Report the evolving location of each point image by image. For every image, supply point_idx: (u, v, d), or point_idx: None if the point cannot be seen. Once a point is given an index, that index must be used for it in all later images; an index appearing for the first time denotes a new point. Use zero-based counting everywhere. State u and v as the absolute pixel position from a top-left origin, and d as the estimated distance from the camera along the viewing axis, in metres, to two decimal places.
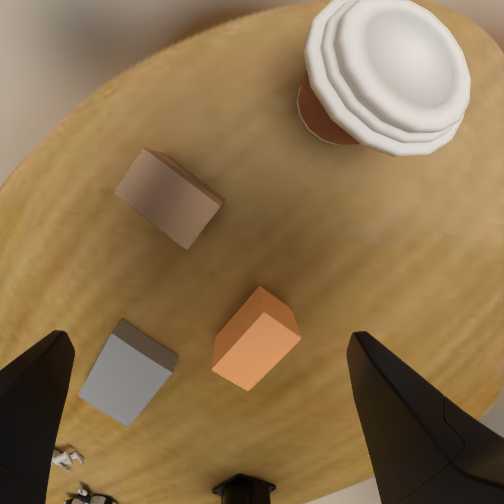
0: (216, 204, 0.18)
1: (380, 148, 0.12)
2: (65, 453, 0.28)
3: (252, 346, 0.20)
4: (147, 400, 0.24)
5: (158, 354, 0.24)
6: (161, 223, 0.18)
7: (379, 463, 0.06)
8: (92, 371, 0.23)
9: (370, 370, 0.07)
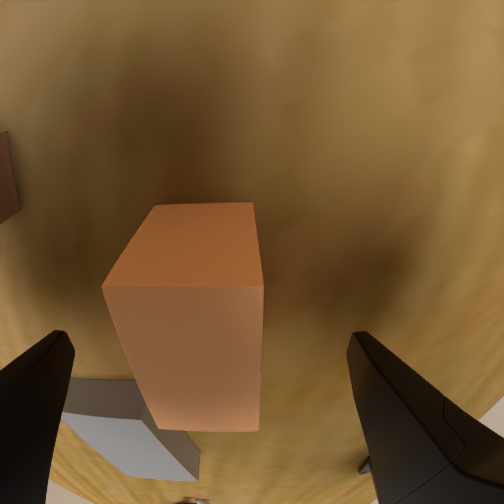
0: None
1: None
2: None
3: (169, 369, 0.07)
4: (170, 455, 0.15)
5: (117, 400, 0.13)
6: None
7: (379, 463, 0.06)
8: (99, 452, 0.15)
9: (370, 370, 0.07)
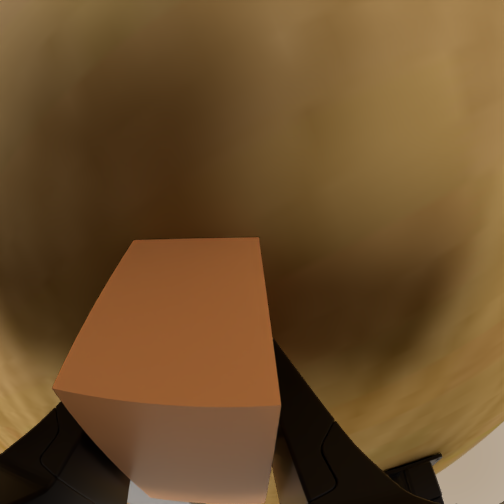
0: None
1: None
2: None
3: (156, 465, 0.05)
4: None
5: None
6: None
7: (277, 480, 0.06)
8: None
9: None
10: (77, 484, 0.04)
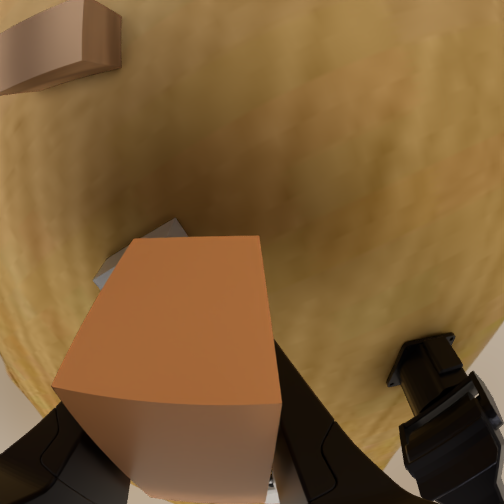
0: None
1: None
2: None
3: (156, 464, 0.05)
4: None
5: None
6: (41, 66, 0.09)
7: (277, 480, 0.06)
8: None
9: None
10: (77, 484, 0.04)
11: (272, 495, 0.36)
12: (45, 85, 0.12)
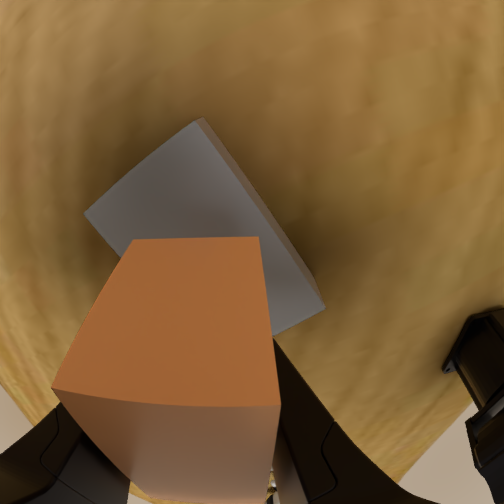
0: None
1: None
2: None
3: (156, 465, 0.05)
4: (261, 222, 0.12)
5: None
6: None
7: (277, 480, 0.06)
8: None
9: None
10: (77, 484, 0.04)
11: None
12: None
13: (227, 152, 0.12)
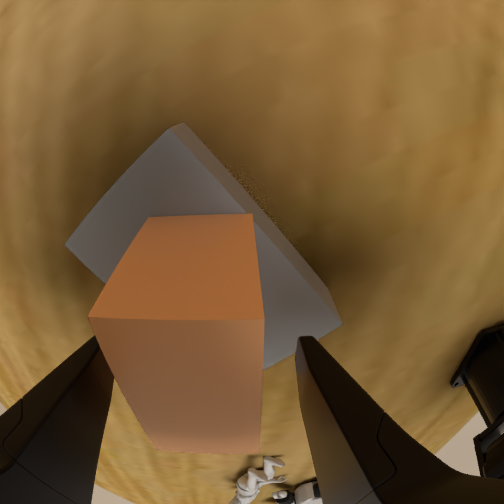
0: None
1: None
2: (250, 473, 0.22)
3: (165, 398, 0.06)
4: (261, 237, 0.10)
5: None
6: None
7: (321, 475, 0.06)
8: None
9: (309, 378, 0.07)
10: (36, 469, 0.04)
11: None
12: None
13: (215, 159, 0.11)
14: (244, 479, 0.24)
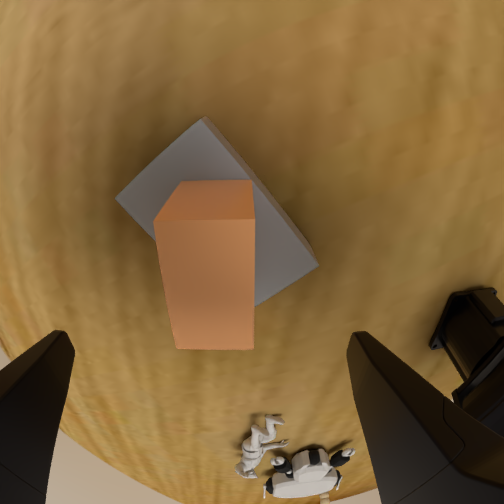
0: None
1: None
2: (253, 429, 0.26)
3: (192, 285, 0.11)
4: (258, 194, 0.15)
5: None
6: None
7: (379, 463, 0.06)
8: None
9: (370, 370, 0.07)
10: None
11: (289, 488, 0.33)
12: None
13: (228, 142, 0.15)
14: (248, 440, 0.29)
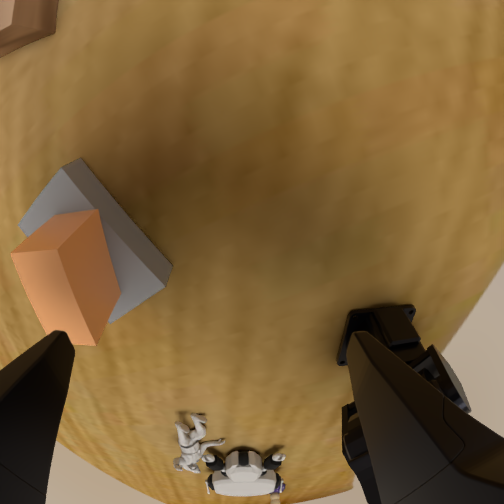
0: None
1: None
2: (176, 425, 0.28)
3: (41, 295, 0.13)
4: (106, 225, 0.17)
5: None
6: None
7: (379, 463, 0.06)
8: None
9: (370, 370, 0.07)
10: None
11: (227, 486, 0.35)
12: None
13: (94, 180, 0.17)
14: None
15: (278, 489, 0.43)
